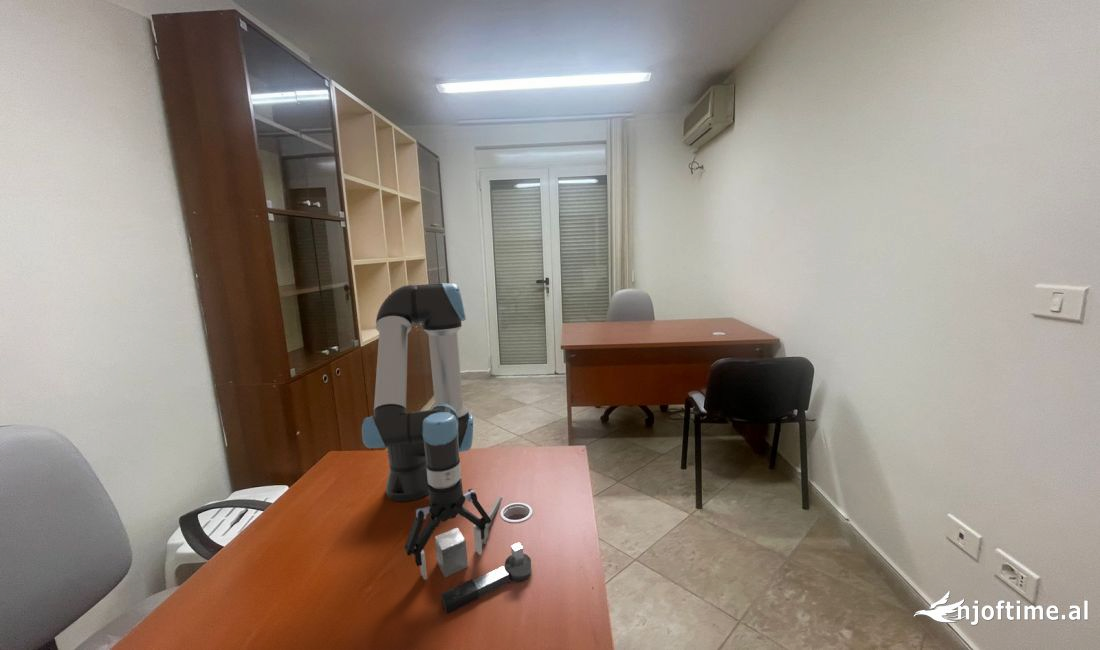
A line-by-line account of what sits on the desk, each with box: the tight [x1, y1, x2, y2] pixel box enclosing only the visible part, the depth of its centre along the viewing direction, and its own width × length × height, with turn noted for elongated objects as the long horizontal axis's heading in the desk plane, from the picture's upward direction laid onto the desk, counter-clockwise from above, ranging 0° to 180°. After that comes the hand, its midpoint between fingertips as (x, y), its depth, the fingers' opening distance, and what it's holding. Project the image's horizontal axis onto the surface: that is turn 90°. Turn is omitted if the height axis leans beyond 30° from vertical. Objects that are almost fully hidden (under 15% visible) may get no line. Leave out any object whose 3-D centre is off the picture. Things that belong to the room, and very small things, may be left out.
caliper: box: [481, 496, 503, 545], centre depth 113 cm, size 20×1×6 cm, turn 175°
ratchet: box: [440, 542, 532, 615], centre depth 90 cm, size 6×20×6 cm, turn 122°
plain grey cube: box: [434, 527, 469, 578], centre depth 97 cm, size 6×6×7 cm
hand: (452, 563), depth 97 cm, fingers open, 13 cm apart
